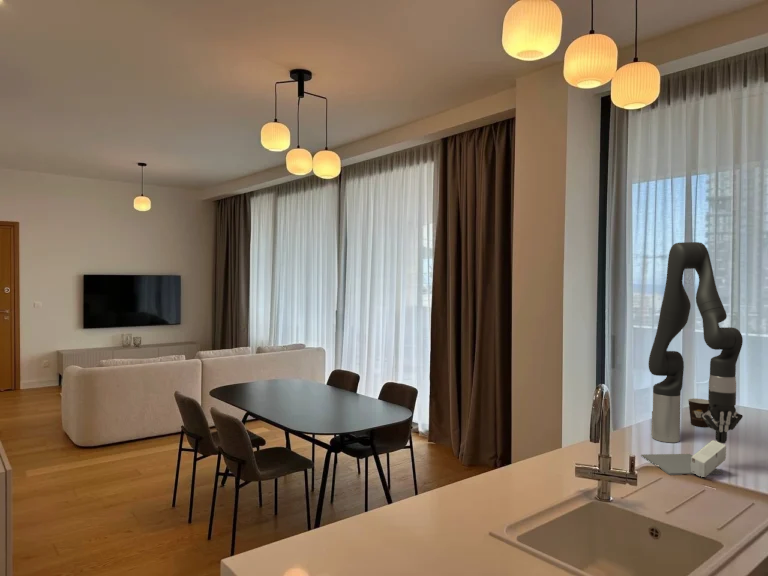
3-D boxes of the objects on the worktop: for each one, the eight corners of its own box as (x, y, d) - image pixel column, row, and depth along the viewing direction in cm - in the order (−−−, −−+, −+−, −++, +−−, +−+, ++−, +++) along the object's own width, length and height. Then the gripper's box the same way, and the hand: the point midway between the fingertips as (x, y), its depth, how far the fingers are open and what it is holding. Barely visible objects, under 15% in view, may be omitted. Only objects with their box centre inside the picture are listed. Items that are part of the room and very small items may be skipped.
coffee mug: (683, 423, 225) (683, 399, 225) (696, 421, 229) (697, 397, 228) (710, 431, 215) (710, 406, 214) (724, 428, 218) (724, 403, 218)
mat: (641, 456, 186) (641, 454, 186) (689, 455, 186) (689, 453, 186) (669, 475, 169) (669, 473, 169) (722, 474, 170) (722, 472, 169)
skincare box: (726, 460, 171) (704, 480, 166) (711, 453, 175) (690, 473, 169) (726, 444, 169) (705, 463, 164) (711, 438, 173) (690, 457, 167)
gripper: (733, 386, 179) (732, 438, 179) (695, 387, 178) (693, 439, 179) (750, 391, 171) (749, 446, 172) (709, 392, 171) (708, 446, 171)
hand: (720, 442), depth 175 cm, fingers closed
